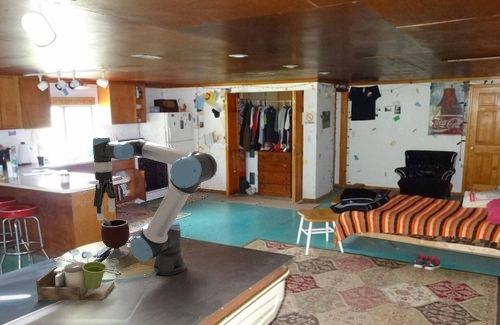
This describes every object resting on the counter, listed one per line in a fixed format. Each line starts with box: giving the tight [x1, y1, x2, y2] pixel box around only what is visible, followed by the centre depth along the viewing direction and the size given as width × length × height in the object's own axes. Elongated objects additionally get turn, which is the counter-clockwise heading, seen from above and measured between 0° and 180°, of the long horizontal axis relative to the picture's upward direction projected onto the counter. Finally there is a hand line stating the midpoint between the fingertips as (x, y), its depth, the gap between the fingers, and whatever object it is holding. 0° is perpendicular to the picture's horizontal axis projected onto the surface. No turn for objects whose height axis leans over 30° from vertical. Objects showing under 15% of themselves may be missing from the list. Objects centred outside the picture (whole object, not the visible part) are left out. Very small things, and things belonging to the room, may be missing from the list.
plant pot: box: [82, 261, 108, 289], centre depth 164 cm, size 9×9×9 cm
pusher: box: [54, 266, 66, 287], centre depth 165 cm, size 4×11×10 cm, turn 178°
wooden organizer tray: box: [35, 266, 116, 302], centre depth 165 cm, size 26×14×9 cm, turn 88°
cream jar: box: [63, 261, 87, 295], centre depth 165 cm, size 8×8×11 cm
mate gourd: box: [100, 217, 130, 259], centre depth 207 cm, size 16×14×20 cm
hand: (106, 215), depth 185 cm, fingers open, 13 cm apart
